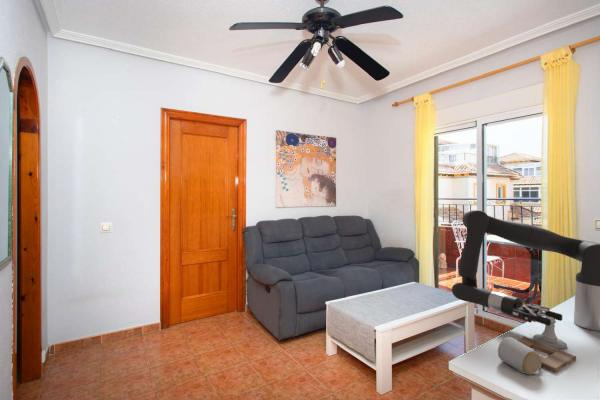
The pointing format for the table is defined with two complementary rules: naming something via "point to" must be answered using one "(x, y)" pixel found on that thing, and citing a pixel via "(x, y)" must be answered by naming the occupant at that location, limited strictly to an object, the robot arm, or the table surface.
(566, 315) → the table surface
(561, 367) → the walnut frame
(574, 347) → the table surface
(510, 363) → the ceramic mug
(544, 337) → the rook chess piece
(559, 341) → the slate-grey pad
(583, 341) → the table surface
